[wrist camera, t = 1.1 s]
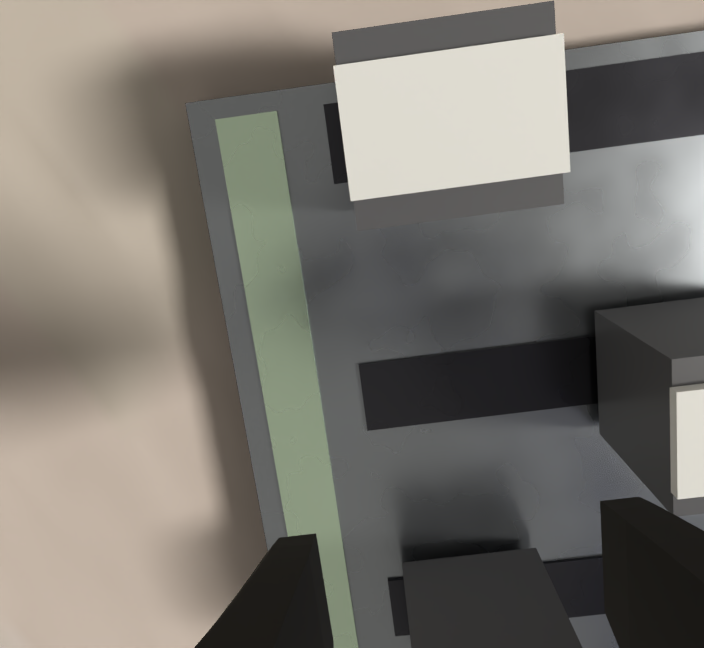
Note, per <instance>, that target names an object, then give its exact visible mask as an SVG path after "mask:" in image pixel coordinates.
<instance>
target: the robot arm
mask: <svg viewBox="0 0 704 648" xmlns="http://www.w3.org/2000/svg"><path fill="white" fill-rule="evenodd" d="M600 513H601V537H602V561H603V585H604V608H605V614H606V617H607V619H608V622H609V624H610V626H611V629H612V631H613V634H614V636H615V639H616V641H617V644H618V646H619V648H704V531H703V530H701V529H700V528H698V527H696V526H694V525H692V524H691V523H689V522H687V521H685V520H683V519H681V518H680V517H678V516H676V515H674V514H672V513H671V512H669V511H667V510H665V509H663V508H661V507H659V506H657V505H656V504H654V503H652V502H650V501H647V500H645V499H643V498H641V497H631V498H622V499H613V500H605V501H600ZM195 648H334V641H333V635H332V628H331V622H330V616H329V610H328V604H327V598H326V591H325V585H324V579H323V573H322V567H321V561H320V555H319V548H318V542H317V536H316V533H315V534H306V535H298V536H289V537H280V538H278V539H277V540H276V542H275V543H274V544H273V545H272V547H271V548H270V550H269V551H268V552H267V554H266V555H265V557H264V558H263V559H262V561H261V562H260V564H259V565H258V566H257V568H256V569H255V571H254V572H253V573H252V575H251V576H250V578H249V579H248V580H247V582H246V583H245V585H244V586H243V587H242V589H241V590H240V591H239V593H238V594H237V595H236V597H235V598H234V599H233V601H232V602H231V603H230V604H229V606H228V607H227V608H226V610H225V611H224V612H223V614H222V615H221V616H220V617H219V619H218V620H217V621H216V623H215V624H214V625H213V626H212V628H211V629H210V630H209V631H208V632H207V634H206V635H205V636H204V637H203V638H202V639H201V641H200V642H199V643H198V644H197V645H196V646H195Z"/></svg>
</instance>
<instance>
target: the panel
mask: <svg viewBox="0 0 704 648" xmlns="http://www.w3.org/2000/svg"><path fill="white" fill-rule="evenodd" d="M565 68H566V89H567V110H568V131H569V152H570V172H567V173H563V187H564V204H561V205H553V206H545V207H538V208H530V209H522V210H515V211H507V212H500V213H492V214H484V215H477V216H469V217H462V218H454V219H446V220H439V221H431V222H423V223H416V224H408V225H401V226H393V227H385V228H378V229H370V230H362V231H357V224H356V217H355V209H354V201H351V200H350V192H349V185H348V177H347V169H346V162H345V154H344V146H343V138H342V131H341V123H340V115H339V108H338V100H337V92H336V84H335V82H333V83H326V84H318V85H311V86H304V87H297V88H290V89H283V90H276V91H268V92H261V93H254V94H247V95H240V96H233V97H226V98H219V99H211V100H204V101H197V102H190V103H185V104H186V110H187V115H188V120H189V126H190V131H191V137H192V142H193V148H194V153H195V158H196V164H197V169H198V175H199V180H200V186H201V191H202V196H203V202H204V207H205V213H206V218H207V224H208V229H209V234H210V240H211V245H212V251H213V256H214V262H215V267H216V272H217V278H218V283H219V289H220V294H221V300H222V305H223V310H224V316H225V321H226V327H227V332H228V338H229V343H230V348H231V354H232V359H233V365H234V370H235V376H236V381H237V386H238V392H239V397H240V403H241V408H242V414H243V419H244V424H245V430H246V435H247V441H248V446H249V452H250V457H251V462H252V468H253V473H254V479H255V484H256V490H257V495H258V500H259V506H260V511H261V517H262V522H263V528H264V533H265V538H266V544H267V549H268V551H269V550H270V548H271V547H272V545H273V544H274V543H275V542H276V540H277V539H278V538H280V537H289V536H298V535H306V534H315V533H316V536H317V542H318V548H319V555H320V561H321V567H322V573H323V579H324V585H325V591H326V598H327V604H328V610H329V616H330V622H331V628H332V635H333V641H334V648H411V640H410V631H409V622H408V614H407V605H406V596H405V587H404V578H403V570H402V563H403V562H412V561H421V560H430V559H439V558H448V557H457V556H466V555H475V554H484V553H493V552H502V551H510V550H519V549H528V548H536V549H537V551H538V553H539V555H540V557H541V560H542V562H543V564H544V566H545V568H546V570H547V572H548V575H549V577H550V579H551V581H552V583H553V585H554V587H555V590H556V592H557V594H558V596H559V598H560V600H561V603H562V605H563V607H564V609H565V611H566V613H567V615H568V618H569V620H570V622H571V624H572V626H573V628H574V630H575V633H576V635H577V637H578V639H579V641H580V643H581V646H582V648H619V646H618V644H617V641H616V639H615V636H614V634H613V631H612V629H611V626H610V624H609V622H608V619H607V617H606V614H605V608H604V585H603V561H602V537H601V513H600V501H605V500H613V499H622V498H631V497H641V498H643V499H645V500H647V501H650V502H652V503H654V504H656V505H657V506H659V507H661V508H663V509H665V510H667V509H666V508H665V507H664V506H663V505H662V504H661V502H660V501H659V500H658V499H657V498H656V497H655V496H654V495H653V493H652V492H651V491H650V490H649V489H648V488H647V487H646V486H645V484H644V483H643V482H642V481H641V480H640V479H639V478H638V477H637V475H636V474H635V473H634V472H633V471H632V470H631V469H630V468H629V467H628V465H627V464H626V463H625V462H624V461H623V460H622V459H621V458H620V456H619V455H618V454H617V453H616V452H615V451H614V450H613V449H612V447H611V446H610V445H609V444H608V443H607V442H606V441H605V440H604V438H603V437H602V436H601V435H600V433H599V409H598V384H597V360H596V336H595V312H594V311H597V310H605V309H613V308H621V307H629V306H637V305H645V304H653V303H661V302H669V301H677V300H685V299H693V298H701V297H704V31H697V32H690V33H682V34H675V35H668V36H661V37H654V38H647V39H640V40H633V41H625V42H618V43H611V44H604V45H597V46H590V47H583V48H575V49H568V50H565ZM667 511H668V510H667ZM678 517H680V518H681V519H683V520H685V521H687V522H689V523H691V524H692V525H694V526H696V527H698V528H700V529H701V530H703V531H704V514H696V515H687V516H678Z"/></svg>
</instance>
